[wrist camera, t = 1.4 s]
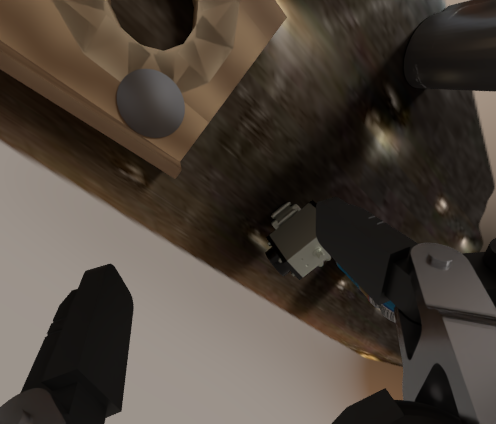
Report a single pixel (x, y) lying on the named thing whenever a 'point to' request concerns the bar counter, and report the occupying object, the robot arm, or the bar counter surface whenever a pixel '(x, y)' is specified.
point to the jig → (135, 68)
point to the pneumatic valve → (295, 240)
